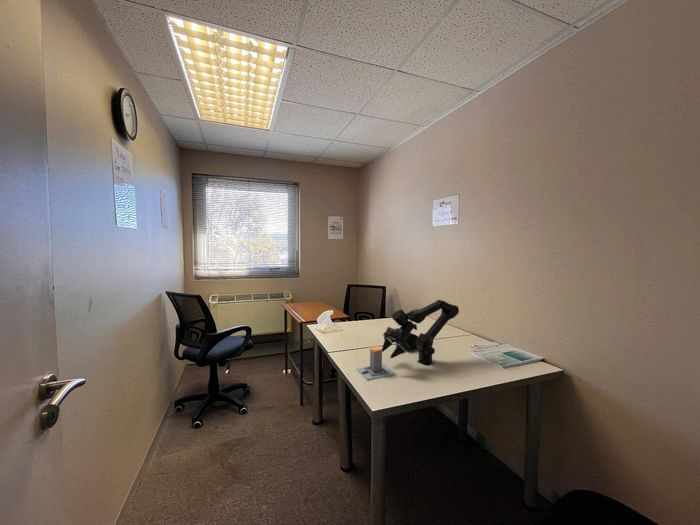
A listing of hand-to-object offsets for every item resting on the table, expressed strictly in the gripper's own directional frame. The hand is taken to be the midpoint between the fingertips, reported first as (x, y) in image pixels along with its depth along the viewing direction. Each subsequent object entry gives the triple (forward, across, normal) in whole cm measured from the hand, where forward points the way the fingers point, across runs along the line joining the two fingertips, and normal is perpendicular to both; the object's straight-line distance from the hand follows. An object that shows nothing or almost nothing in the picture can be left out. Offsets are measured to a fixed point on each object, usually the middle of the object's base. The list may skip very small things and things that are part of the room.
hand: (386, 354), depth 142 cm
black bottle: (-14, -32, +27) cm, 44 cm away
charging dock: (+10, 0, +2) cm, 10 cm away
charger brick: (+10, 0, +1) cm, 10 cm away
